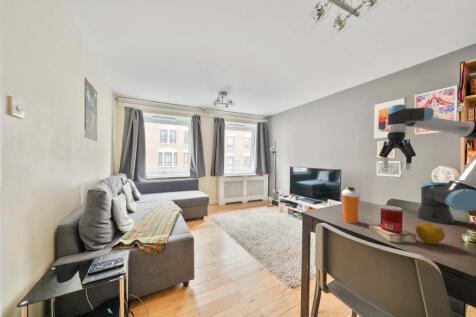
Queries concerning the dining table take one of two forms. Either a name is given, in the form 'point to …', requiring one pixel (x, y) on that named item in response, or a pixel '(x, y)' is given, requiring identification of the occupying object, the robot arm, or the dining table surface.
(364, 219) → the dining table surface
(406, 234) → the dock
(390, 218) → the canned food
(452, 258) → the dining table surface
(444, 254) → the dining table surface
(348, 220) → the shaker bottle
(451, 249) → the dining table surface
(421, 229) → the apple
